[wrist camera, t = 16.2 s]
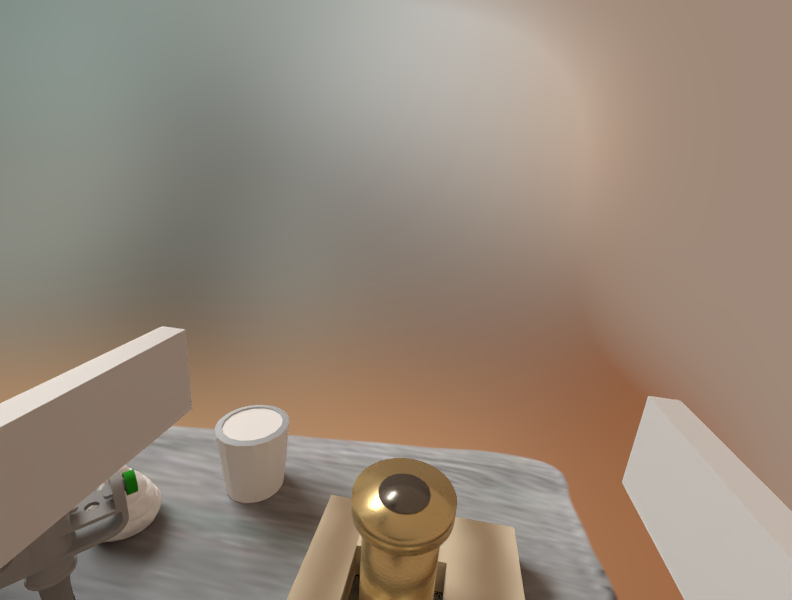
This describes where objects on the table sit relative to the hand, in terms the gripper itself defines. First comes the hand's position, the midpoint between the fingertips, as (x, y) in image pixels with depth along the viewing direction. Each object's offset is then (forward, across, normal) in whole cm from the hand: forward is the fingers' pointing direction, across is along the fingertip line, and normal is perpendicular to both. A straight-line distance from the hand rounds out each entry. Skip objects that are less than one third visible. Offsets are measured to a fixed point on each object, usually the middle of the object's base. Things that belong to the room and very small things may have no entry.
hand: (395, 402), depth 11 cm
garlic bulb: (+14, -25, -25) cm, 38 cm away
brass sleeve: (+10, 0, -24) cm, 26 cm away
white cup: (+21, -16, -25) cm, 36 cm away
